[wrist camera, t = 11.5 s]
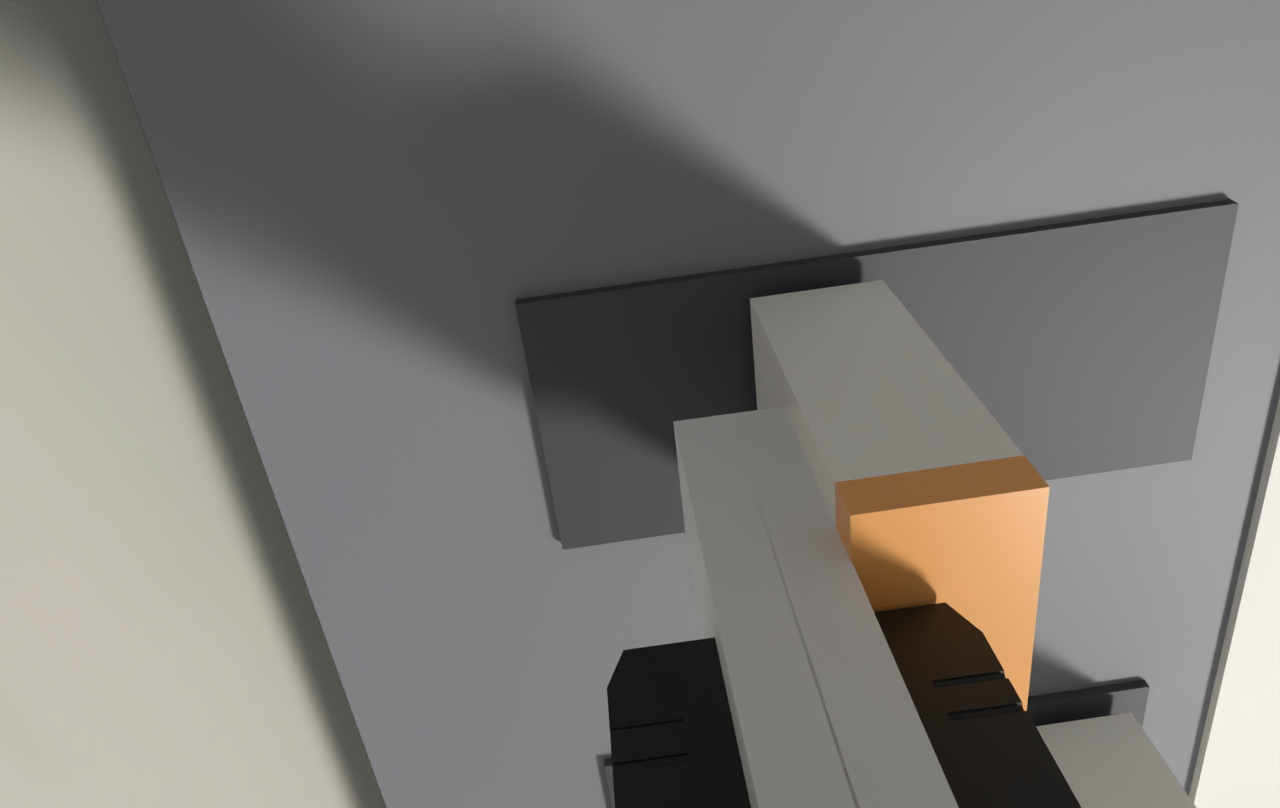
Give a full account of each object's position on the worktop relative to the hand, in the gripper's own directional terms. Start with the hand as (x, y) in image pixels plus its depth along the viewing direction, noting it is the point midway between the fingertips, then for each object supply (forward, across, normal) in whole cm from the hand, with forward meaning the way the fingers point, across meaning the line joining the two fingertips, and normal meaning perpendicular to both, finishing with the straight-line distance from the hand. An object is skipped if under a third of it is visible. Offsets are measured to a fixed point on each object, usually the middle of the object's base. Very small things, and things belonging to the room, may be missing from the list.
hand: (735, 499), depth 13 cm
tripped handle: (+2, +2, 0) cm, 3 cm away
